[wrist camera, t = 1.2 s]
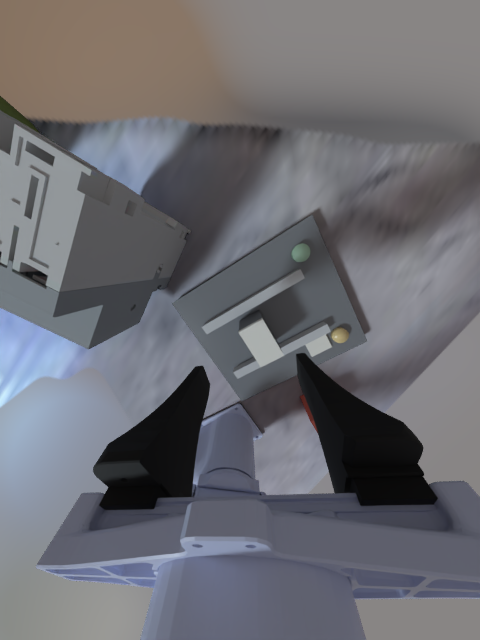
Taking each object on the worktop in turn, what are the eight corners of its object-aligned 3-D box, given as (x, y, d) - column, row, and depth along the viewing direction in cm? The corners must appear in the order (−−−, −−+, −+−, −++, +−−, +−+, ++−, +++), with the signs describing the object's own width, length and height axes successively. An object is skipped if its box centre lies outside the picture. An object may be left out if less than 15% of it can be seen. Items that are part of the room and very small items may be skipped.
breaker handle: (257, 350, 25) (260, 367, 20) (239, 320, 24) (238, 332, 19) (277, 339, 24) (284, 355, 20) (259, 309, 23) (262, 319, 19)
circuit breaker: (100, 298, 25) (-96, 342, 11) (135, 196, 21) (-95, 49, 7) (149, 324, 26) (31, 396, 11) (191, 230, 22) (93, 163, 8)
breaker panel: (242, 394, 29) (241, 407, 26) (176, 301, 25) (168, 305, 22) (360, 337, 26) (373, 344, 23) (307, 218, 21) (316, 211, 19)
